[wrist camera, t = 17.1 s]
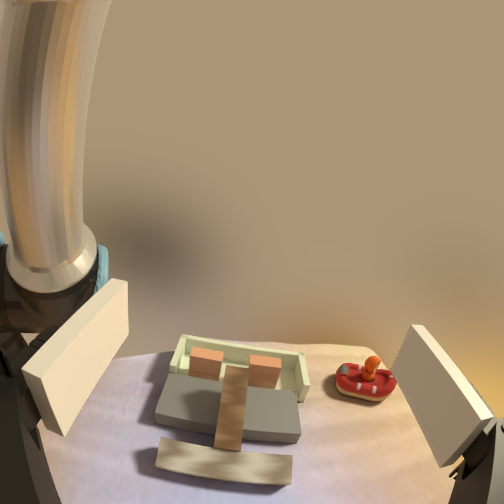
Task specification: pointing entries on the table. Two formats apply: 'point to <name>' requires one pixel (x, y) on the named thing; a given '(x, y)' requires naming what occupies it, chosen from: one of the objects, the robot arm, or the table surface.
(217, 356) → the tile
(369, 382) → the toy boat
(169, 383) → the slate board
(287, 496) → the table surface
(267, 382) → the tile
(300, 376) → the tray
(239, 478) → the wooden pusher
